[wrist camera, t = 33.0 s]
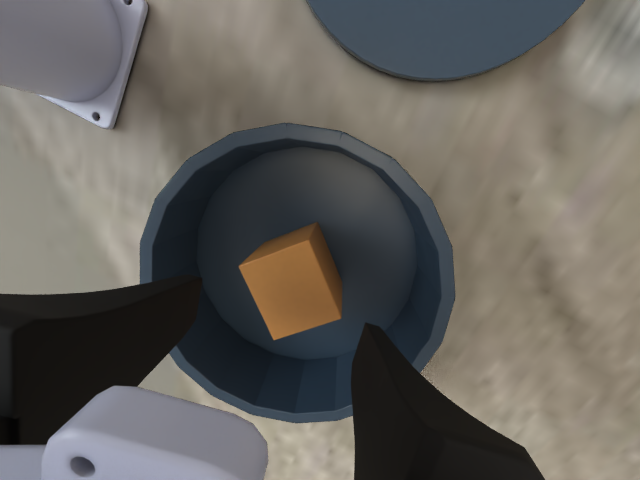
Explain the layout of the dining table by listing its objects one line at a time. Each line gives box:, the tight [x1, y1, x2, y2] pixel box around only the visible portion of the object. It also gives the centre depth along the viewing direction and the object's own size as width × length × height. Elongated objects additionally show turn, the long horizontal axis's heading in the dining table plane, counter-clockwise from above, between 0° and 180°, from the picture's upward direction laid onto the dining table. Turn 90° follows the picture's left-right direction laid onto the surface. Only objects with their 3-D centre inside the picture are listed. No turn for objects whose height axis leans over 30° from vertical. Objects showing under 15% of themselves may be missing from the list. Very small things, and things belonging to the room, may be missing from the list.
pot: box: [140, 123, 455, 423], centre depth 18 cm, size 16×16×5 cm
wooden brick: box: [239, 222, 342, 340], centre depth 18 cm, size 4×5×5 cm
